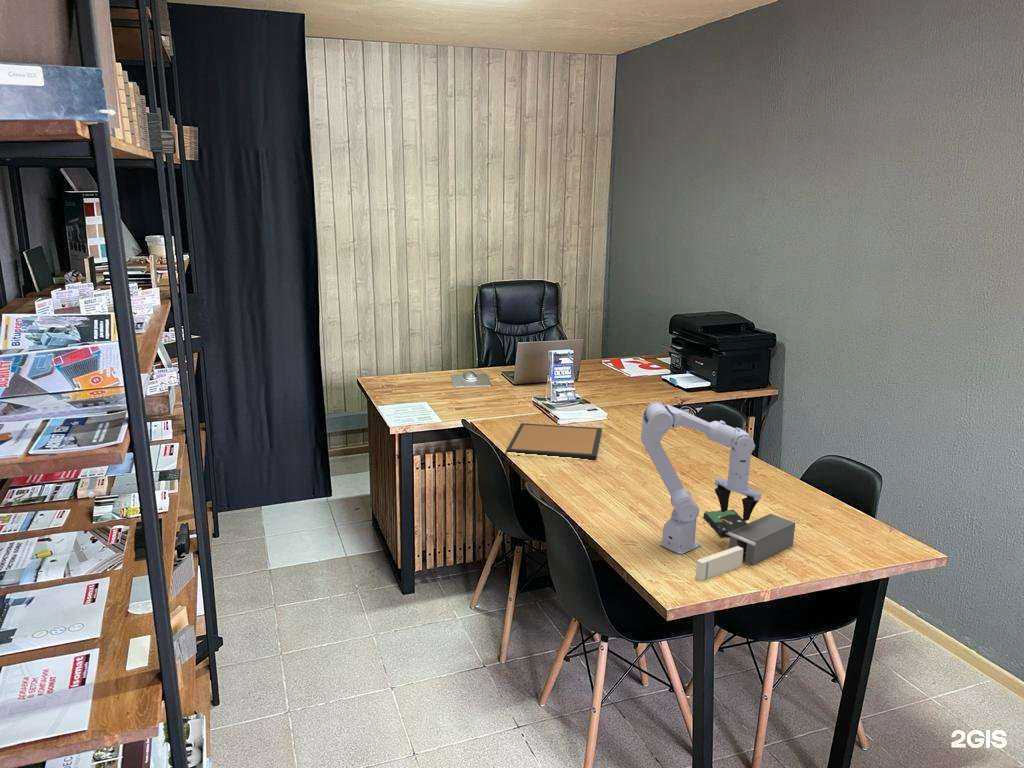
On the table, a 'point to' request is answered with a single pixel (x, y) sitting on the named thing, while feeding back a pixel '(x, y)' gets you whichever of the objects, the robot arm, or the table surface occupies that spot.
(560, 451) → the cork board
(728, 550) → the cream rectangular block
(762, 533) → the dispenser
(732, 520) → the disk drive
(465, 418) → the table surface
